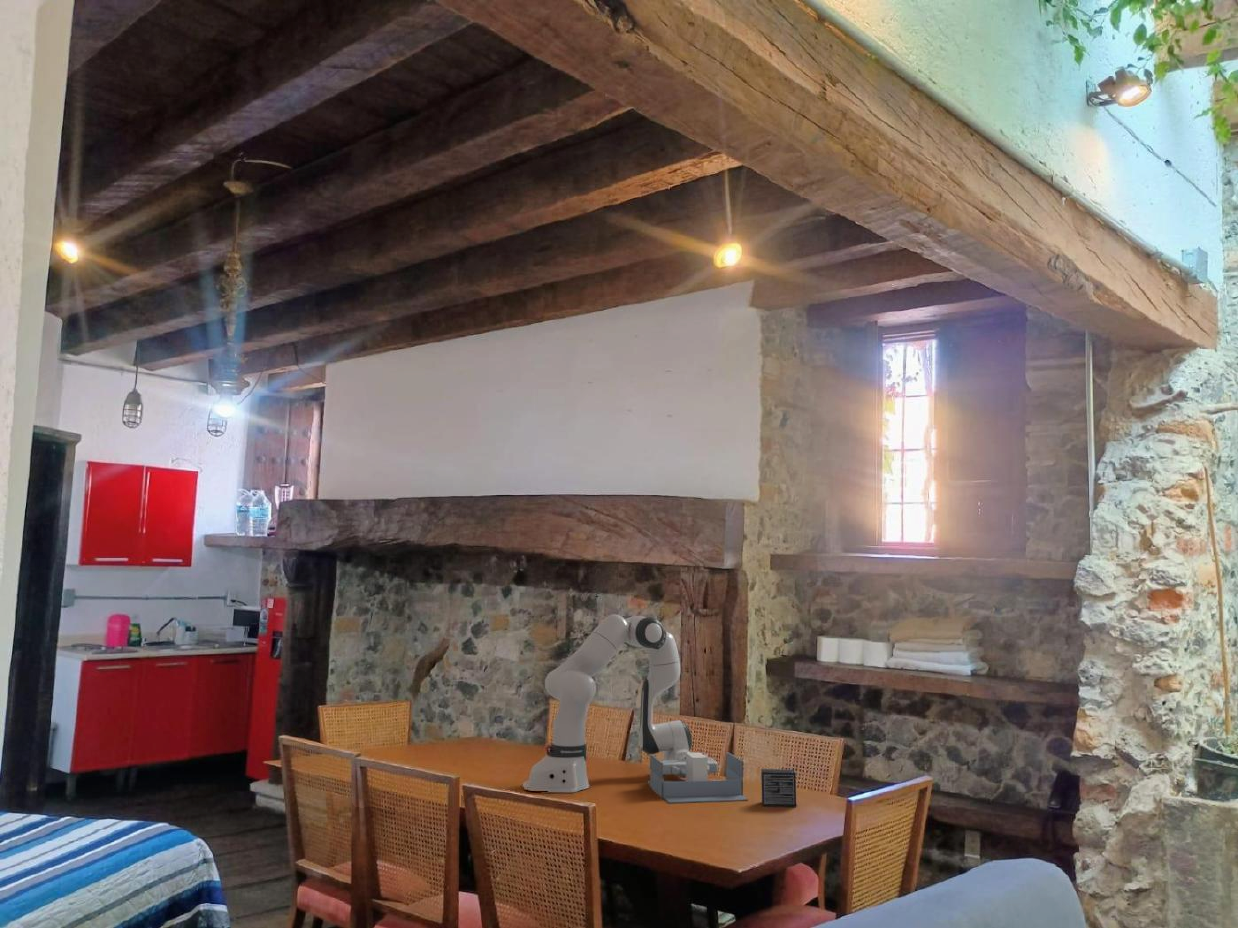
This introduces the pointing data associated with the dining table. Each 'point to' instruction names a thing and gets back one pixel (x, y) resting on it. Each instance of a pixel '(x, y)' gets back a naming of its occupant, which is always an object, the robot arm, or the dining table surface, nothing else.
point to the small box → (778, 787)
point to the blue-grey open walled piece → (699, 784)
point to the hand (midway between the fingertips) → (693, 771)
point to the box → (696, 767)
